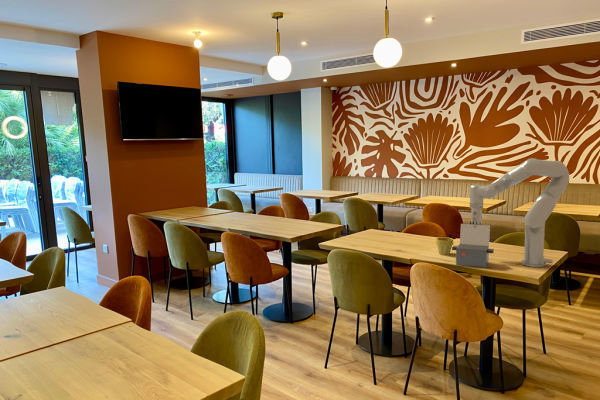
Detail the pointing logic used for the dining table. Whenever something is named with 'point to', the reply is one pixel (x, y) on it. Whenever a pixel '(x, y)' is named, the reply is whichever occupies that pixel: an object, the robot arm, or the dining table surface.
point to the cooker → (472, 255)
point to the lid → (475, 234)
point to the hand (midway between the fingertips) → (475, 235)
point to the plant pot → (444, 245)
